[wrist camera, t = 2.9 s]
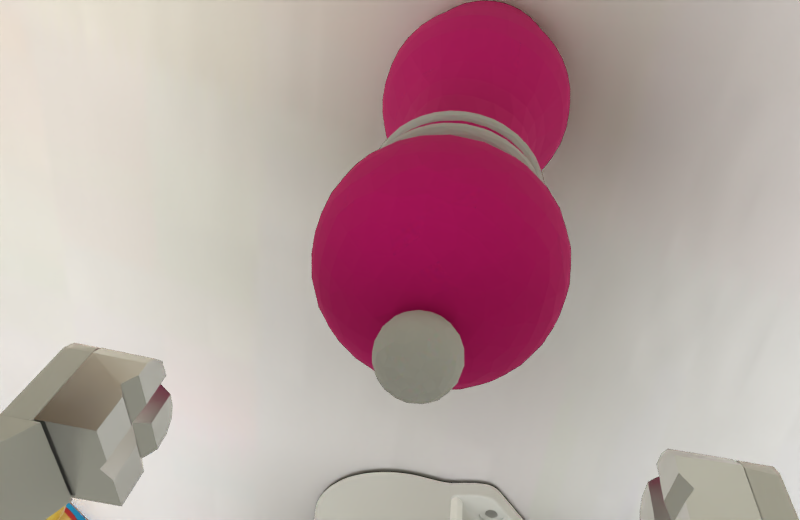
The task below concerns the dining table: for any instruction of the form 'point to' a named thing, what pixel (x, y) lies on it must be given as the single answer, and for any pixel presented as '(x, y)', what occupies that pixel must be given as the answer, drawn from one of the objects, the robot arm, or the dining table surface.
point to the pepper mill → (452, 210)
